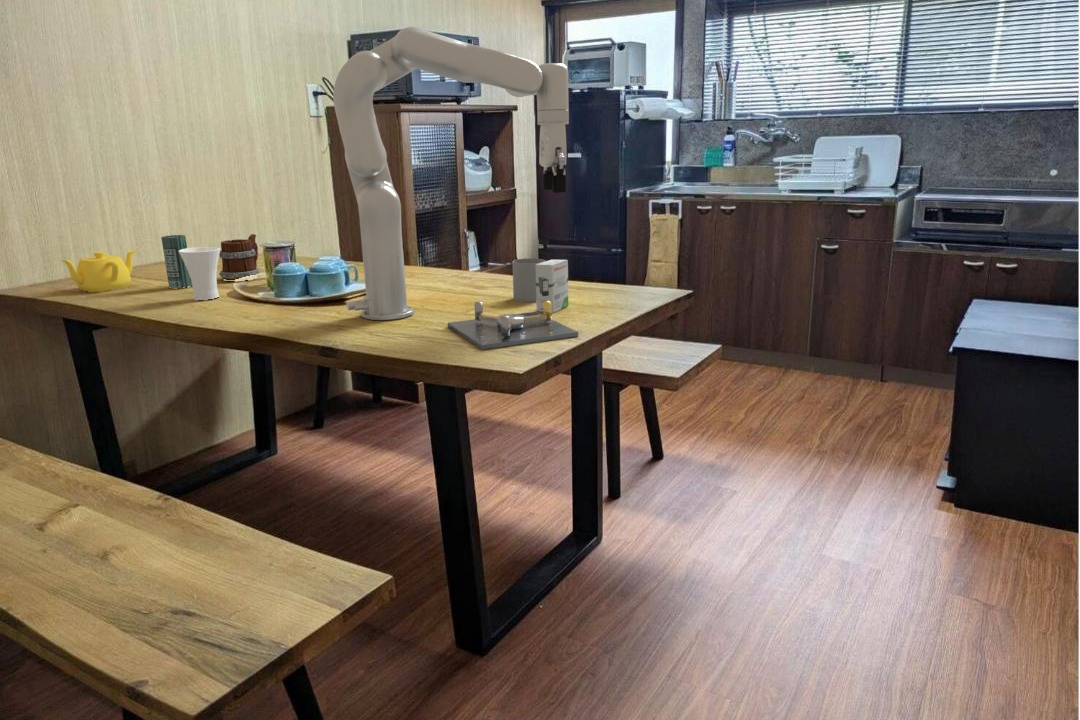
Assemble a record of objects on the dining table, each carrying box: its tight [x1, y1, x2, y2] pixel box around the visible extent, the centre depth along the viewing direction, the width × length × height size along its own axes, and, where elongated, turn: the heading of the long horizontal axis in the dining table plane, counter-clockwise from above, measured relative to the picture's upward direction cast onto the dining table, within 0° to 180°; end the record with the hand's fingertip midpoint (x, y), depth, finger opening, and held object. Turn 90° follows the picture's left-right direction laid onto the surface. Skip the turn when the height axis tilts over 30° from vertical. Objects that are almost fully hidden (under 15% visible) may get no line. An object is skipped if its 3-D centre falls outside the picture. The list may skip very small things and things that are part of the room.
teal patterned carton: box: [161, 234, 193, 288], centre depth 229 cm, size 6×6×15 cm
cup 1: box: [179, 246, 221, 301], centre depth 213 cm, size 10×10×14 cm
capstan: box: [473, 301, 553, 336], centre depth 173 cm, size 15×17×5 cm
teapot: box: [60, 249, 137, 293], centre depth 230 cm, size 22×16×11 cm
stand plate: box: [447, 311, 579, 350], centre depth 173 cm, size 22×22×1 cm
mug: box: [218, 233, 261, 280], centre depth 242 cm, size 12×14×15 cm
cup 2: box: [511, 257, 546, 303], centre depth 205 cm, size 8×8×10 cm
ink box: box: [535, 259, 569, 314], centre depth 192 cm, size 9×5×12 cm, turn 151°
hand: (554, 190), depth 193 cm, fingers open, 9 cm apart
